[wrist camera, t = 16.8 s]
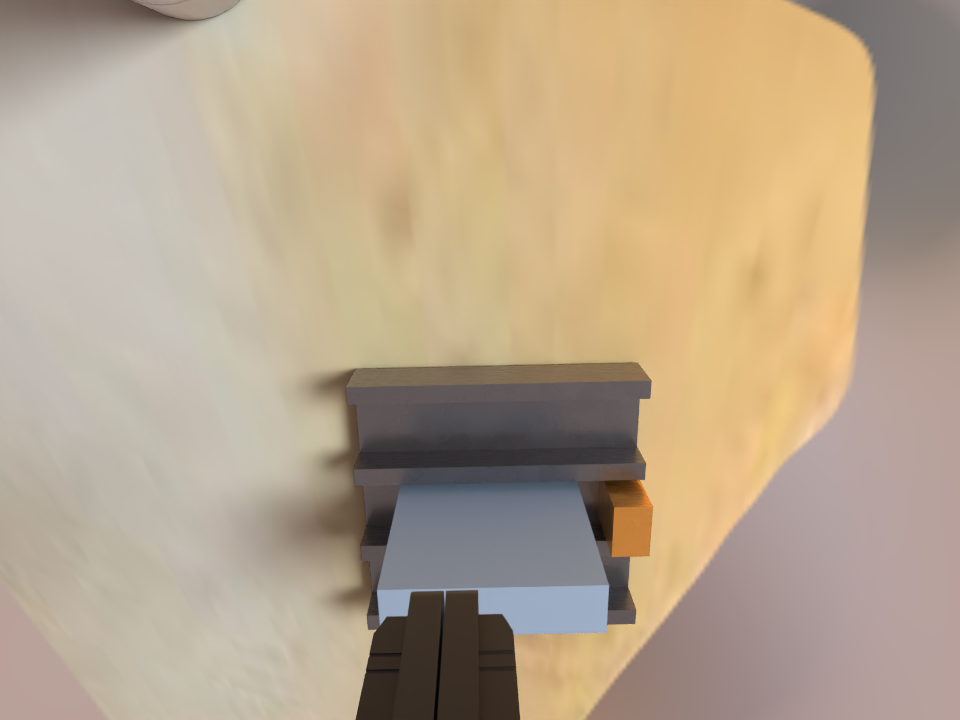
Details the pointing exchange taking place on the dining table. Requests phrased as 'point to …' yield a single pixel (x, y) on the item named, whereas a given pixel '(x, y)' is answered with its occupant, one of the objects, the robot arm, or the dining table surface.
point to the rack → (508, 447)
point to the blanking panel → (499, 553)
